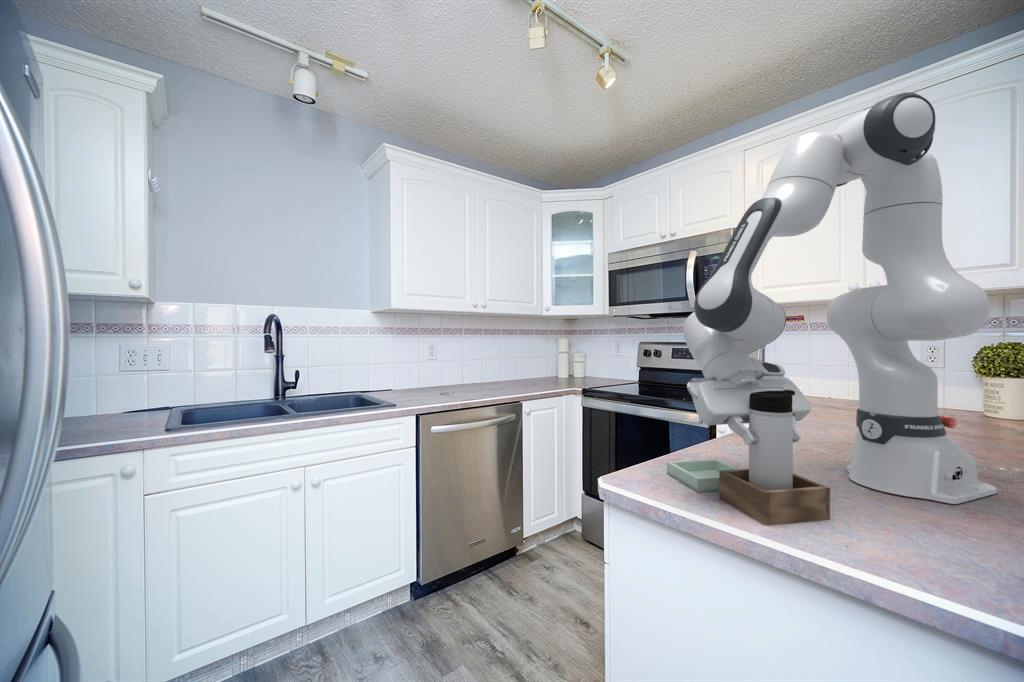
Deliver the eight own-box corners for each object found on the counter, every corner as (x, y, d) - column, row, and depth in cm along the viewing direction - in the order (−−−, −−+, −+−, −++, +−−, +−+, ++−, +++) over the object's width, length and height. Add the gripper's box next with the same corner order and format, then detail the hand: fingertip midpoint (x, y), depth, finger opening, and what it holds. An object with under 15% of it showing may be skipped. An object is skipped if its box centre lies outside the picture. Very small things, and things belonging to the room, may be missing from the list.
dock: (716, 470, 89) (716, 458, 89) (752, 488, 79) (752, 475, 79) (667, 473, 87) (666, 461, 87) (697, 492, 77) (697, 478, 77)
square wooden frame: (776, 494, 76) (776, 467, 75) (829, 519, 65) (830, 487, 65) (719, 498, 74) (719, 470, 74) (765, 525, 63) (765, 492, 63)
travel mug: (802, 518, 66) (802, 392, 65) (756, 514, 67) (757, 392, 67) (784, 502, 72) (785, 388, 72) (743, 499, 73) (743, 387, 73)
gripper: (690, 367, 74) (727, 434, 65) (789, 365, 78) (838, 428, 68) (676, 389, 79) (709, 454, 69) (770, 386, 82) (814, 448, 72)
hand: (774, 441), depth 69 cm, fingers open, 6 cm apart
